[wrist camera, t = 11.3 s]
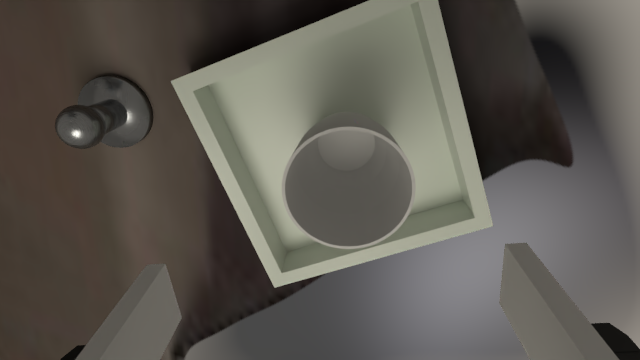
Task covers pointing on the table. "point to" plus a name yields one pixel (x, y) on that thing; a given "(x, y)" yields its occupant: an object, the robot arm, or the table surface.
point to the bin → (333, 97)
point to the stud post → (106, 115)
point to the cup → (348, 182)
